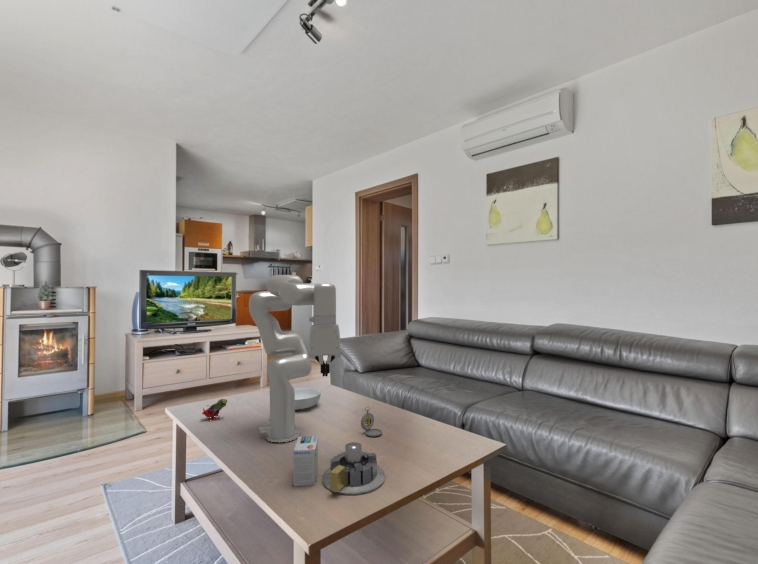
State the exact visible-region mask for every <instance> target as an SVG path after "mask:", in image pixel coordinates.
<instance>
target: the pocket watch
mask: <svg viewBox="0 0 758 564" xmlns="http://www.w3.org/2000/svg"><path fill="white" fill-rule="evenodd" d="M367 408H368V409H367ZM370 409H371V408H370V407H369V406H366V407H365V408H364V412H366V413H364V415H363V416H362V417H361V419H360V427H361V429H363V430H364V431H365V435H366V436H368V437H378V436H382V433H383V431H382V430H381V429H378V428H372V427H373V426H374V422H375V418H374V415H373V413H371V412H369V411H370Z"/></svg>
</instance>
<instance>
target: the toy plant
mask: <svg viewBox="0 0 758 564" xmlns="http://www.w3.org/2000/svg"><path fill="white" fill-rule="evenodd" d="M227 403H228V399H227V398H221V399H218V401H217V402H216V403H213V404H211V405H210V406H209V404H207V407H209V408H207V409H206V410H205V408H202V410H203V412H202V415H204V416H205V417H206V418H207V417H209V418H208V419H211V418H210V417H213V418H214V416H216V417H217V416H219V414H220V411H221V410H222V409H223V408H226V406H227Z"/></svg>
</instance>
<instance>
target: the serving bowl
mask: <svg viewBox="0 0 758 564" xmlns="http://www.w3.org/2000/svg"><path fill="white" fill-rule="evenodd" d="M293 388H294V387H293ZM294 391H295V411H299V410H298V409H302V410H305V408H306V409H308V408H311V407H313V406H315V405H317V403H318V402H319V401H320V398H321V394H322V392H321V390H320V389H318V388H314V387H295V388H294Z"/></svg>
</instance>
